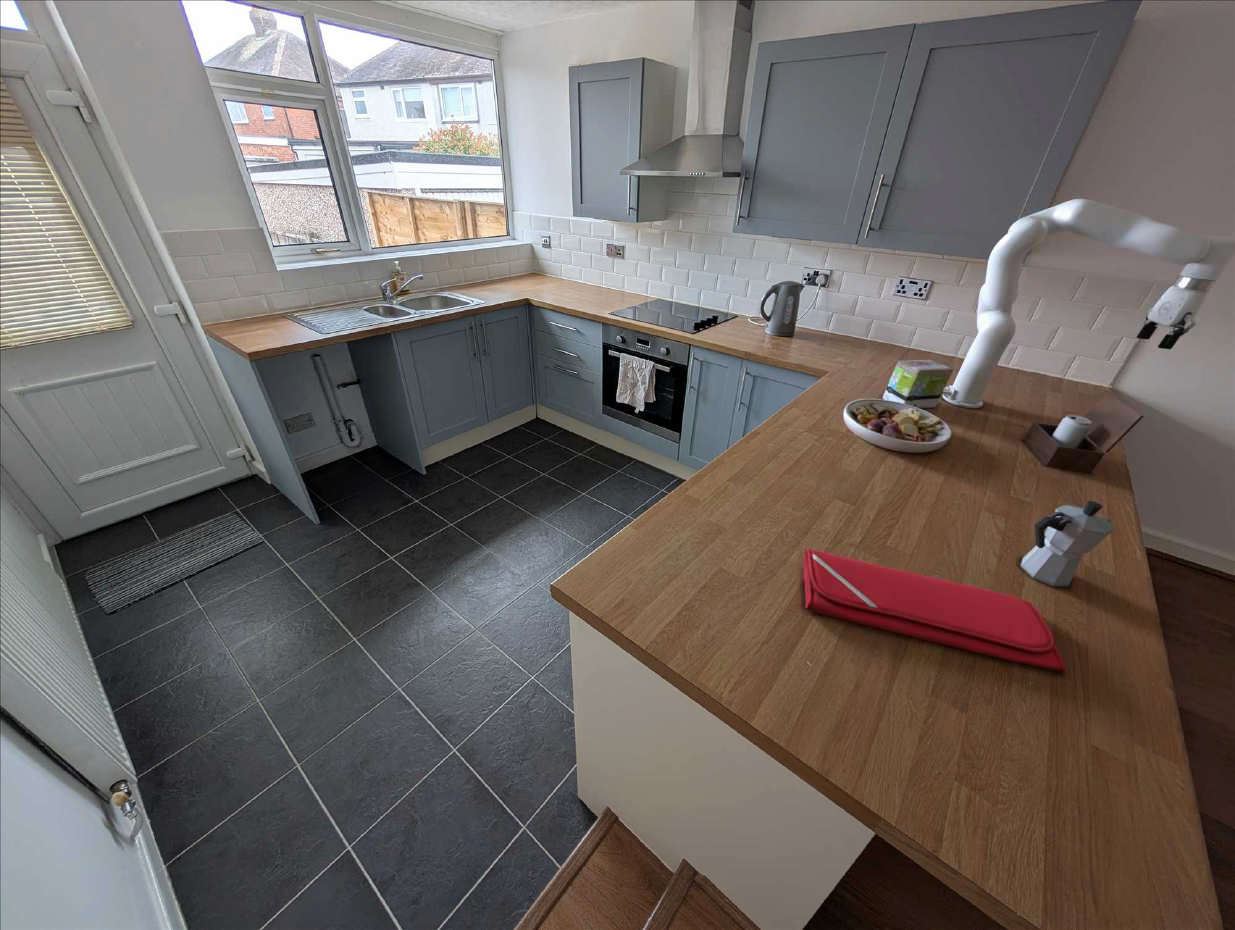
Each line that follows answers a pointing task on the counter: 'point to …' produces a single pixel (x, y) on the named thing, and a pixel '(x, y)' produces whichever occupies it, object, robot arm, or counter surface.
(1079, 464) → the chest
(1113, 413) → the chest lid
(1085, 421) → the beverage can
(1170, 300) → the robot arm
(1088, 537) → the coffee maker
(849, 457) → the counter surface
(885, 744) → the counter surface
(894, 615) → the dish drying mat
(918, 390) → the tea box
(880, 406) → the bowl
